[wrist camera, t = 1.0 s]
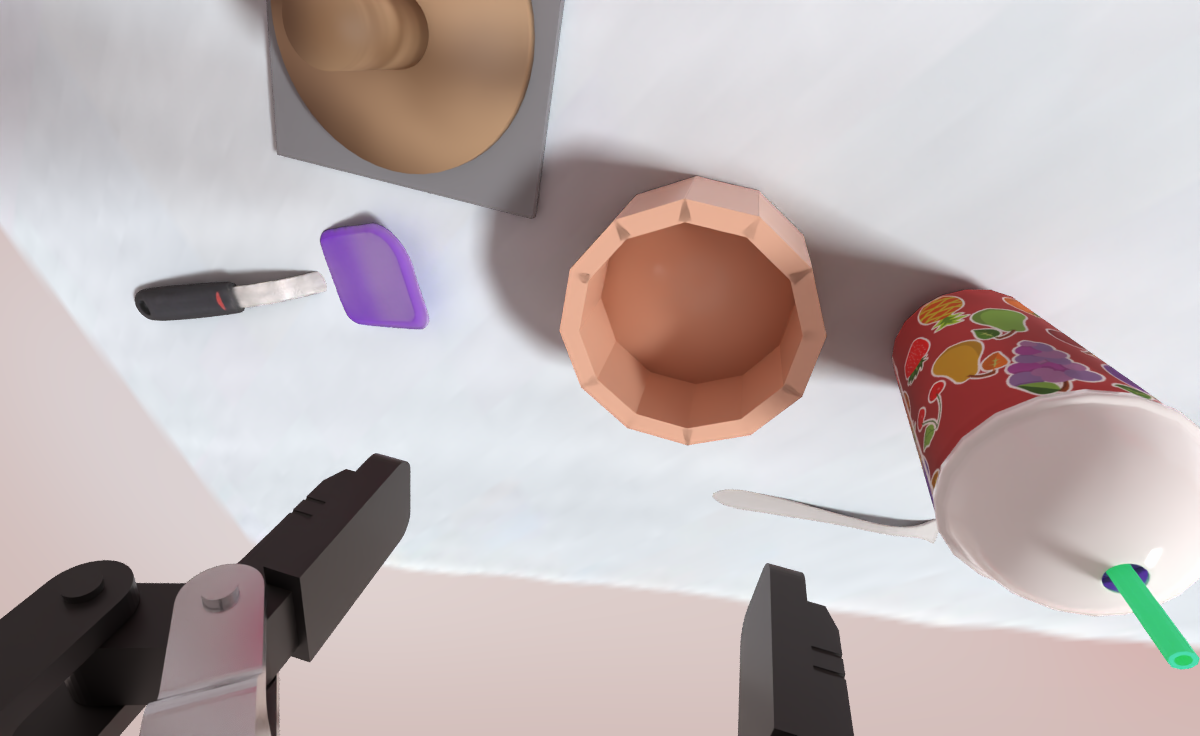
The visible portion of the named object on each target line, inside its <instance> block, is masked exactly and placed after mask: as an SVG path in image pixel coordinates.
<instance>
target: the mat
mask: <svg viewBox="0 0 1200 736" xmlns="http://www.w3.org/2000/svg"><path fill="white" fill-rule="evenodd" d="M266 2H267V16H268V30H269V44H270V58H271V73H272V87H273V101H274V115H275V129H276V143H277V155H281V156H285V157H289V158H293V159H297V160H301V161H305V162H309V163H313V164H316V165H320V166H324V167H328V168H332V169H336V170H340V171H344V172H348V173H352V174H356V175H360V176H364V177H368V178H372V179H376V180H380V181H384V182H388V183H392V184H396V185H400V186H404V187H408V188H412V189H416V190H420V191H424V192H428V193H432V194H436V195H439V196H443V197H447V198H451V199H455V200H459V201H463V202H467V203H471V204H475V205H479V206H483V207H487V208H491V209H495V210H499V211H503V212H507V213H511V214H515V215H519V216H523V217H527V218H531V219H533V218H534V217H535V216H536V209H537V201H538V194H539V187H540V179H541V172H542V164H543V157H544V149H545V142H546V134H547V127H548V120H549V112H550V105H551V97H552V90H553V82H554V75H555V67H556V60H557V52H558V45H559V38H560V30H561V23H562V15H563V8H564V0H531V2H532V8H533V14H534V28H535V47H534V60H533V66H532V72H531V77H530V81H529V84H528V88H527V91H526V94H525V97H524V100H523V102H522V104H521V106H520V109H519V111H518V113H517V115H516V116H515V118H514V120H513V121H512V123H511V125H510V126H509V128H508V129H507V130H506V131H505V133H504V134H503V135H502V136H501V138H500V139H499V140H498V141H497V142H496V143H495V144H494V145H493V146H491V147H490V148H489V149H488V150H487V151H486V152H484V153H483V154H481V155H480V156H478V157H477V158H475V159H474V160H471V161H469V162H467V163H465V164H463V165H461V166H458V167H455V168H452V169H449V170H445V171H442V172H438V173H430V174H406V173H401V172H395V171H391V170H388V169H385V168H382V167H379V166H376V165H374V164H372V163H370V162H368V161H366V160H364V159H362V158H360V157H359V156H357V155H356V154H354V153H352V152H351V151H349V150H348V149H347V148H345V147H344V146H343V145H342V144H340V143H339V142H338V141H337V140H335V139H334V138H333V137H332V136H331V135H330V134H329V133H328V132H327V131H326V130H325V129H324V128H323V127H322V125H321V124H320V123H319V122H318V121H317V119H316V118H315V117H314V116H313V115H312V113H311V112H310V110H309V109H308V108H307V106H306V105H305V103H304V102H303V100H302V99H301V97H300V95H299V93H298V92H297V90H296V88H295V86H294V84H293V82H292V80H291V78H290V76H289V74H288V71H287V69H286V66H285V64H284V62H283V59H282V56H281V52H280V49H279V46H278V43H277V39H276V34H275V30H274V25H273V19H272V10H271V0H266Z"/></svg>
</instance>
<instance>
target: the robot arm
mask: <svg viewBox="0 0 1200 736" xmlns="http://www.w3.org/2000/svg"><path fill="white" fill-rule="evenodd" d="M409 518H410V465H409V463H408V462H406V461H403V460H399V459H396V458H392V457H389V456H385V455H381V454H378V453H375V454H373V455H371V456H370V457H369V458H368V459H367V460H366V461H365V462H364V463H363V464H362V465H361V466H360V467H359V468H358V470H357V471H356V472H355V471H351V470H348V469H345V470H343V471H341V472H339V473H337V474H335V475H333V476H331V477H329V478H327V479H325V480H323V481H322V482H321V483H320V484H319V485H318V486H317V487H316V488H315V489H314V490H313V491H312V492H311V493H310V494H309V495H308V496H307V498H306V500H303V501H302V502H301V503H300V504H298V505H297V506H296V507H295V508H294V509H293V512H292V513H289V514H288V515H287V516H286V517H285V518H284V519H283V520H282V521H281V522H280V523H279V524H278V525H277V526H276V527H275V528H274V529H273V530H272V531H271V532H270V533H269V534H268V535H267V536H265V537H264V538H263V539H262V540H261V541H260V542H259V543H258V544H257V545H256V546H255V547H254V548H253V549H252V550H251V551H250V552H249V553H248V554H247V555H246V556H245V557H244V558H243V559H242V560H241V561H240V562H238V563H237V564H226V565H220V566H216V567H213V568H211V569H208V570H205V571H203V572H201V573H200V574H198V575H196V576H195V577H193V578H192V579H191V580H189V581H188V582H187V583H180V584H176V583H171V584H169V583H136V582H135V578H134V575H133V572H132V570H131V569H130V568H129V567H128V566H127V565H125V564H123V563H121V562H117V561H109V560H103V561H94V562H89V563H85V564H81V565H78V566H75V567H73V568H71V569H69V570H66V571H64V572H62V573H60V574H59V575H57V576H55V577H54V578H52V579H51V580H49V581H48V582H47V583H46V584H44V585H43V586H42V587H40V588H39V589H38V590H37V591H35V592H34V593H33V594H32V595H30V596H29V597H28V598H27V599H25V600H24V601H23V602H22V603H20V604H19V605H18V606H17V607H15V608H14V609H13V610H12V611H10V612H9V613H8V614H7V615H5V616H4V617H3V618H1V619H0V736H120V734H121V733H122V732H123V731H124V730H125V729H126V728H127V727H128V725H129V724H130V723H131V722H132V721H133V720H134V718H135V717H136V716H137V715H138V714H139V713H140V712H141V710H142V709H143V708H144V707H145V706H146V705H147V706H146V709H145V711H144V715H143V719H142V724H141V730H140V735H139V736H279V671H280V669H281V668H282V667H283V665H284V664H285V663H286V662H287V660H288V659H289V658H290V657H291V656H292V657H296V658H298V659H301V660H304V661H307V662H310V661H311V660H312V659H313V658H314V656H315V655H316V654H317V652H318V651H319V650H320V648H321V647H322V646H323V644H324V643H325V641H326V640H327V639H328V637H329V636H330V635H331V633H332V632H333V631H334V629H335V628H336V627H337V625H338V624H339V623H340V621H341V620H342V619H343V617H344V616H345V615H346V613H347V612H348V611H349V609H350V608H351V606H352V605H353V604H354V602H355V601H356V600H357V598H358V597H359V596H360V594H361V593H362V592H363V590H364V589H365V588H366V586H367V585H368V584H369V582H370V581H371V579H372V578H373V577H374V575H375V574H376V573H377V571H378V570H379V569H380V567H381V566H382V565H383V563H384V562H385V561H386V559H387V558H388V557H389V555H390V554H391V553H392V551H393V550H394V548H395V547H396V546H397V544H398V543H399V542H400V540H401V539H402V537H403V535H404V533H405V531H406V528H407V526H408V522H409ZM841 657H842V650H841V643H840V636H839V630H838V628H837V626H836V625H835V623H834V621H833V619H832V618H831V616H830V614H829V612H828V610H827V609H826V607H825V606H822V605H819V604H815V603H812V602H808V601H807V594H806V584H805V577H804V574H803V573H801V572H798V571H794V570H791V569H787V568H783V567H780V566H776V565H773V564H769V563H767V564H766V565H765V566H764V568H763V571H762V573H761V576H760V578H759V581H758V583H757V586H756V588H755V591H754V594H753V596H752V599H751V601H750V604H749V606H748V609H747V612H746V615H745V619H744V622H743V628H742V634H741V646H740V683H739V722H738V736H854V733H853V726H852V720H851V712H850V706H849V699H848V691H847V685H846V680H845V679H844V677H845V671H844V664H843V659H842V658H841Z"/></svg>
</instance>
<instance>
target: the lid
mask: <svg viewBox="0 0 1200 736" xmlns="http://www.w3.org/2000/svg"><path fill="white" fill-rule="evenodd" d="M271 10H272V19H273V25H274V30H275V34H276V39H277V43H278V46H279V49H280V52H281V56H282V59H283V62H284V64H285V66H286V69H287V71H288V74H289V76H290V78H291V80H292V82H293V84H294V86H295V88H296V90H297V92H298V93H299V95H300V97H301V99H302V100H303V102H304V103H305V105H306V106H307V108H308V109H309V110H310V112H311V113H312V115H313V116H314V117H315V118H316V119H317V121H318V122H319V123H320V124H321V125H322V127H323V128H324V129H325V130H326V131H327V132H328V133H329V134H330V135H331V136H332V137H333V138H334V139H335V140H337V141H338V142H339V143H340V144H342V145H343V146H344V147H345V148H347V149H348V150H349V151H351V152H352V153H354V154H356V155H357V156H359V157H360V158H362V159H364V160H366V161H368V162H370V163H372V164H374V165H376V166H379V167H382V168H385V169H388V170H391V171H395V172H401V173H406V174H430V173H438V172H442V171H445V170H449V169H452V168H455V167H458V166H461V165H463V164H465V163H467V162H469V161H471V160H474V159H475V158H477V157H478V156H480V155H481V154H483V153H484V152H486V151H487V150H488V149H489V148H490V147H491V146H493V145H494V144H495V143H496V142H497V141H498V140H499V139H500V138H501V136H502V135H503V134H504V133H505V131H506V130H507V129H508V128H509V126H510V125H511V123H512V121H513V120H514V118H515V116H516V115H517V113H518V111H519V109H520V106H521V104H522V102H523V100H524V97H525V94H526V91H527V88H528V84H529V81H530V77H531V72H532V66H533V60H534V47H535V28H534V14H533V8H532V2H531V0H271Z"/></svg>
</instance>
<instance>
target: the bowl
mask: <svg viewBox="0 0 1200 736" xmlns="http://www.w3.org/2000/svg"><path fill="white" fill-rule="evenodd" d="M559 332H560V333H561V336H562V339H563V341H564V344H565V346H566V349H567V352H568V354H569V357H570V359H571V362H572V365H573V367H574V370H575V372H576V375H577V378H578V380H579V383H580V385H581V388H583V389H584V390H585V391H586V392H587V393H588V394H589V395H590V396H592V397H593V398H594V399H595V400H596V401H597V402H598V403H600V404H601V405H602V406H603V407H604V408H605V409H606V410H608V411H609V412H610V413H611V414H612V415H613V416H614V417H615V418H617V419H618V420H619V421H620V422H621V423H622V424H623V425H625V426H626V427H627V428H629V429H633V430H636V431H640V432H643V433H647V434H650V435H654V436H657V437H661V438H664V439H668V440H671V441H675V442H678V443H682V444H685V445H692V444H698V443H704V442H710V441H716V440H723V439H729V438H735V437H741V436H747V435H751V434H752V433H754V432H755V431H756V430H758V429H759V428H761V427H762V426H763V425H765V424H766V423H767V422H769V421H770V420H771V419H773V418H774V417H775V416H777V415H778V414H779V413H781V412H782V411H783V410H785V409H786V408H788V407H789V406H790V405H792V404H793V403H794V402H796V401H797V400H798V399H800V398H801V397H802V395H803V393H804V390H805V388H806V386H807V383H808V381H809V378H810V376H811V373H812V371H813V368H814V366H815V363H816V361H817V359H818V356H819V354H820V351H821V349H822V346H823V344H824V341H825V339H826V337H827V335H826V331H825V327H824V322H823V317H822V313H821V308H820V303H819V298H818V293H817V289H816V284H815V279H814V274H813V268H812V264H811V260H810V257H809V253H808V249H807V246H806V242H805V238H804V235H803V234H802V233H801V232H800V231H799V230H798V229H797V228H796V227H795V226H794V225H793V224H792V223H791V222H790V221H789V220H788V219H787V218H786V217H785V216H784V215H783V214H782V213H781V212H780V211H779V210H778V209H777V208H776V207H775V206H774V205H773V204H772V203H771V202H770V201H769V200H768V199H767V198H766V197H765V196H764V195H763V194H762V193H761V192H760V191H759V190H754V189H749V188H745V187H741V186H737V185H732V184H728V183H724V182H720V181H716V180H711V179H707V178H703V177H699V176H695V177H692V178H688V179H685V180H682V181H679V182H676V183H672V184H669V185H666V186H663V187H660V188H657V189H653V190H650V191H647V192H644V193H641V194H637V195H636V196H635V197H634V198H633V199H632V200H631V201H630V202H629V203H628V205H627V206H626V207H625V208H624V209H623V210H622V211H621V212H620V214H619V215H618V216H617V217H616V218H615V219H614V221H613V222H612V223H611V224H610V225H609V226H608V228H607V229H606V230H605V231H604V232H603V233H602V234H601V235H600V236H599V238H597V239H596V240H595V242H594V243H593V244H592V245H591V246H590V247H589V248H588V249H587V250H586V252H585V253H584V254H583V255H582V256H581V257H580V258H579V259H578V261H577V262H576V263H575V264H574V265H573V266H572V267H571V268H570V272H569V278H568V284H567V289H566V295H565V301H564V307H563V313H562V319H561V325H560V330H559Z"/></svg>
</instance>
